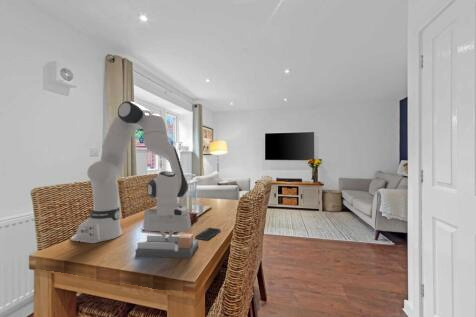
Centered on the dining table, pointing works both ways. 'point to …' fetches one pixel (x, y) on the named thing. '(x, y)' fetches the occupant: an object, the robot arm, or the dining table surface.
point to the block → (185, 240)
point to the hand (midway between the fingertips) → (167, 240)
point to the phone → (207, 234)
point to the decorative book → (192, 216)
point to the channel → (164, 247)
